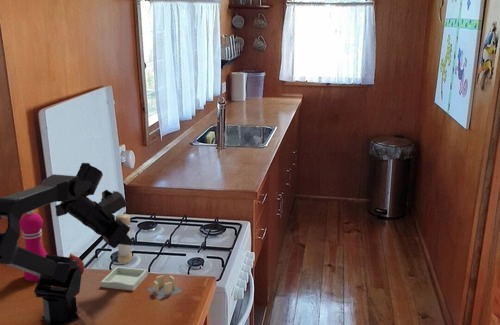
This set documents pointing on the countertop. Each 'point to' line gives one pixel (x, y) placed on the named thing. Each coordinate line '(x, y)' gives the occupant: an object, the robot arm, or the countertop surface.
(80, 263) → the onion
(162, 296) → the grey stand with brackets
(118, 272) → the tray
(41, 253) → the pepper mill
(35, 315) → the countertop surface
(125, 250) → the white and tan post
